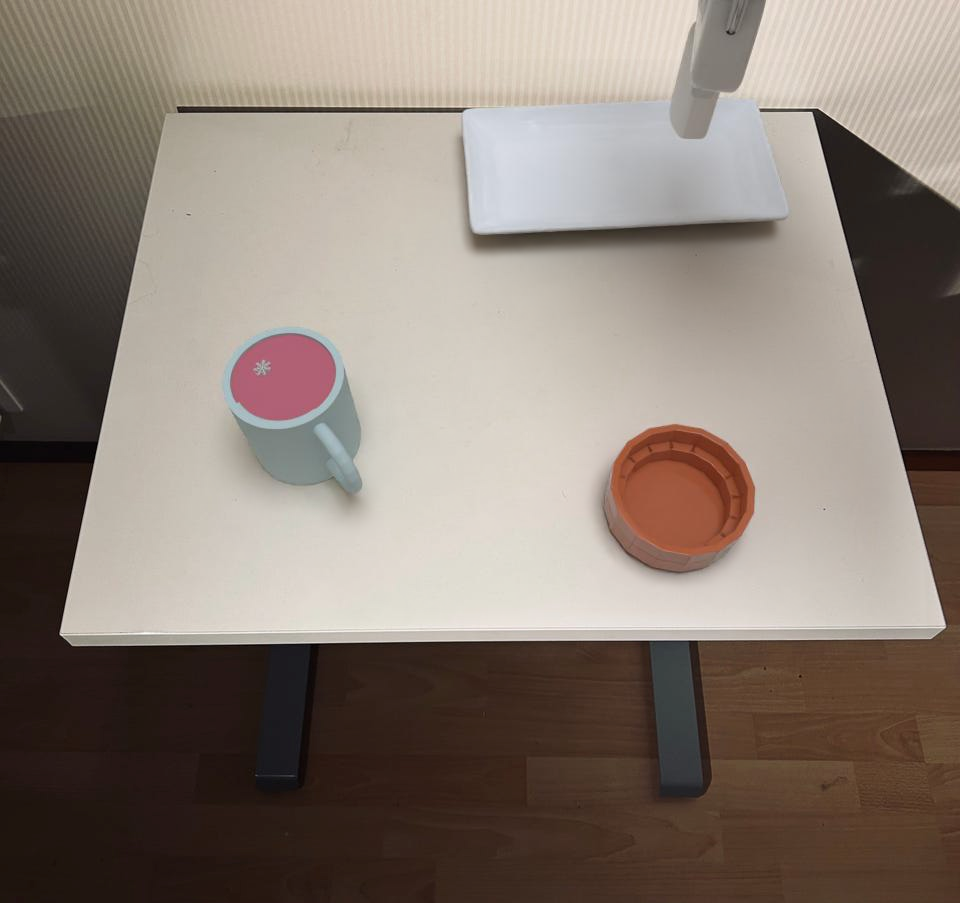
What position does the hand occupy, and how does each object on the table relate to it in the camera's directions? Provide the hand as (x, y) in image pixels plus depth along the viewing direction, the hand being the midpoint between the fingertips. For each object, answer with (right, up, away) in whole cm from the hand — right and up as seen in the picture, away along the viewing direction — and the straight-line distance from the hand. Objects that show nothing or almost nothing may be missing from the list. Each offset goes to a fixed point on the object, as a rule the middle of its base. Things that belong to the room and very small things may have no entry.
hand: (705, 63), depth 65 cm
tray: (-4, -4, +18) cm, 19 cm away
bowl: (-2, -37, +1) cm, 37 cm away
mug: (-32, -32, +4) cm, 46 cm away
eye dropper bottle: (0, -3, +5) cm, 6 cm away
